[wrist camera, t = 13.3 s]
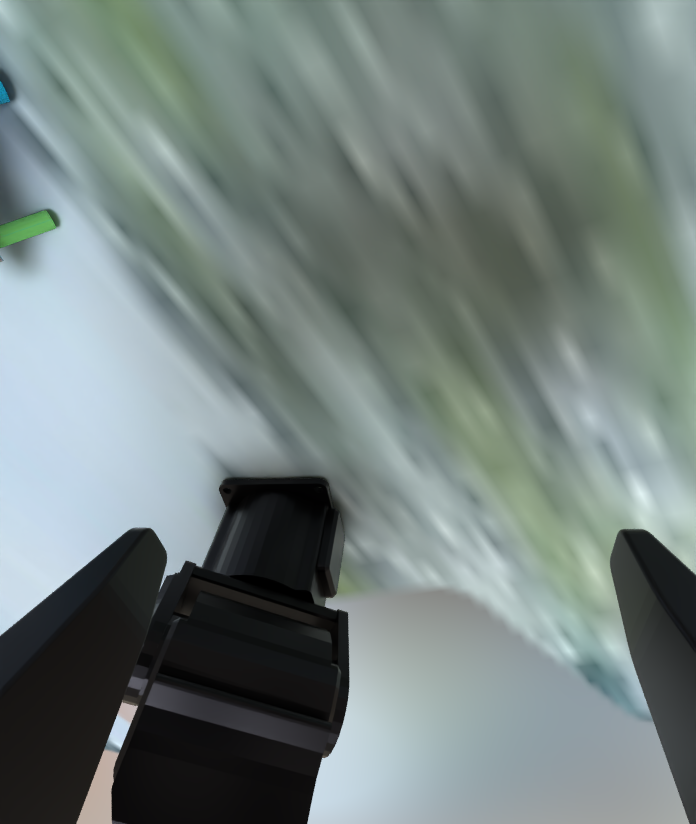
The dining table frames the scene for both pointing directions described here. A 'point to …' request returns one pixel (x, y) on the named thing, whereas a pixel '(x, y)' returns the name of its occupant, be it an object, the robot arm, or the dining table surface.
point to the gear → (25, 225)
